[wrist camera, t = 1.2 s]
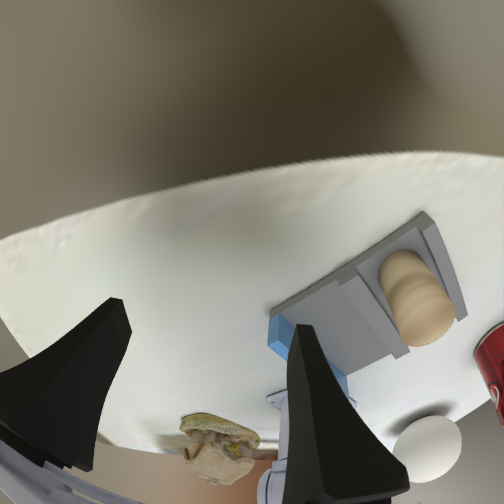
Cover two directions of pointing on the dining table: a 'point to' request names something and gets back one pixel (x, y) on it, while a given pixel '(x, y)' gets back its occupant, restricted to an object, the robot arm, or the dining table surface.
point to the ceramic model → (218, 448)
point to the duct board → (362, 303)
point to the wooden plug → (415, 298)
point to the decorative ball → (428, 447)
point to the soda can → (493, 366)
